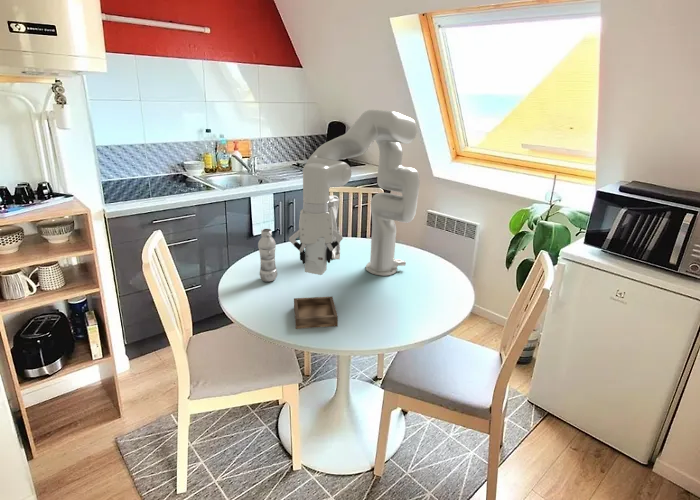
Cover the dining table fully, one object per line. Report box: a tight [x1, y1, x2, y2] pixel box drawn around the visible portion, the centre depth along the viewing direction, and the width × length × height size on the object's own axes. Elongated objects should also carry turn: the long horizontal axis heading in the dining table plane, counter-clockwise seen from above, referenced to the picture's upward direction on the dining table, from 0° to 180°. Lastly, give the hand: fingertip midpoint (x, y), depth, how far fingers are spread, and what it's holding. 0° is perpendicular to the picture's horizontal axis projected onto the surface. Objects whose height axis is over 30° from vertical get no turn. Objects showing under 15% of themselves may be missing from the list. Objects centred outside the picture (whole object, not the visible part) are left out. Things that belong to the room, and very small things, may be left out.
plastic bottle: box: [257, 228, 278, 283], centre depth 162 cm, size 6×7×20 cm
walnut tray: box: [293, 296, 339, 330], centre depth 142 cm, size 13×13×4 cm
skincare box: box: [304, 238, 328, 276], centre depth 134 cm, size 6×4×12 cm
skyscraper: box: [329, 195, 341, 260], centre depth 183 cm, size 8×8×28 cm
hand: (316, 261), depth 136 cm, fingers closed on skincare box, 7 cm apart
